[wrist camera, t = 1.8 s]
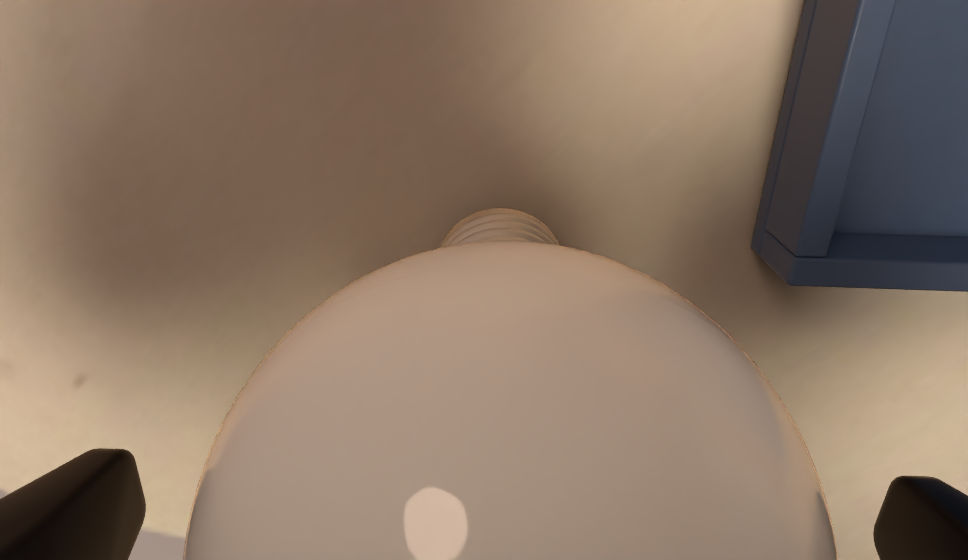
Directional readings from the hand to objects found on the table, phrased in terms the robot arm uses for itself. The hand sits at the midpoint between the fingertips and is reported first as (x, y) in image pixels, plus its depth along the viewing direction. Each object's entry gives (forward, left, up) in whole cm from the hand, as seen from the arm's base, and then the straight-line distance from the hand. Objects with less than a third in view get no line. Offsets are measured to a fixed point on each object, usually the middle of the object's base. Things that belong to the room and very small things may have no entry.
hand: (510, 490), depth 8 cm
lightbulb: (0, 0, -7) cm, 7 cm away
